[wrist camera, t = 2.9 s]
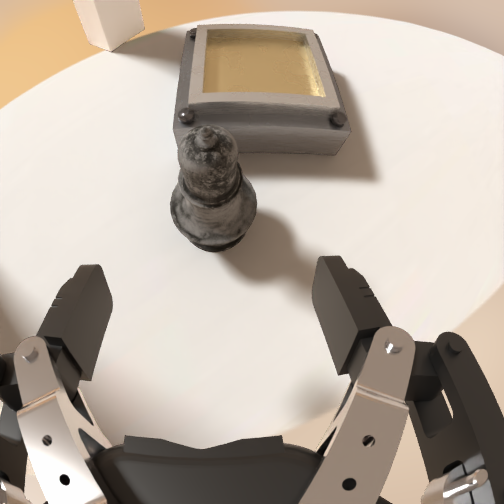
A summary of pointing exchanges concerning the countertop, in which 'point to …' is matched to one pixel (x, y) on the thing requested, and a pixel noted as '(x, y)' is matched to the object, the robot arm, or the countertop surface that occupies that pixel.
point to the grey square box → (261, 89)
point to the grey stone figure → (211, 190)
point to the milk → (109, 21)
